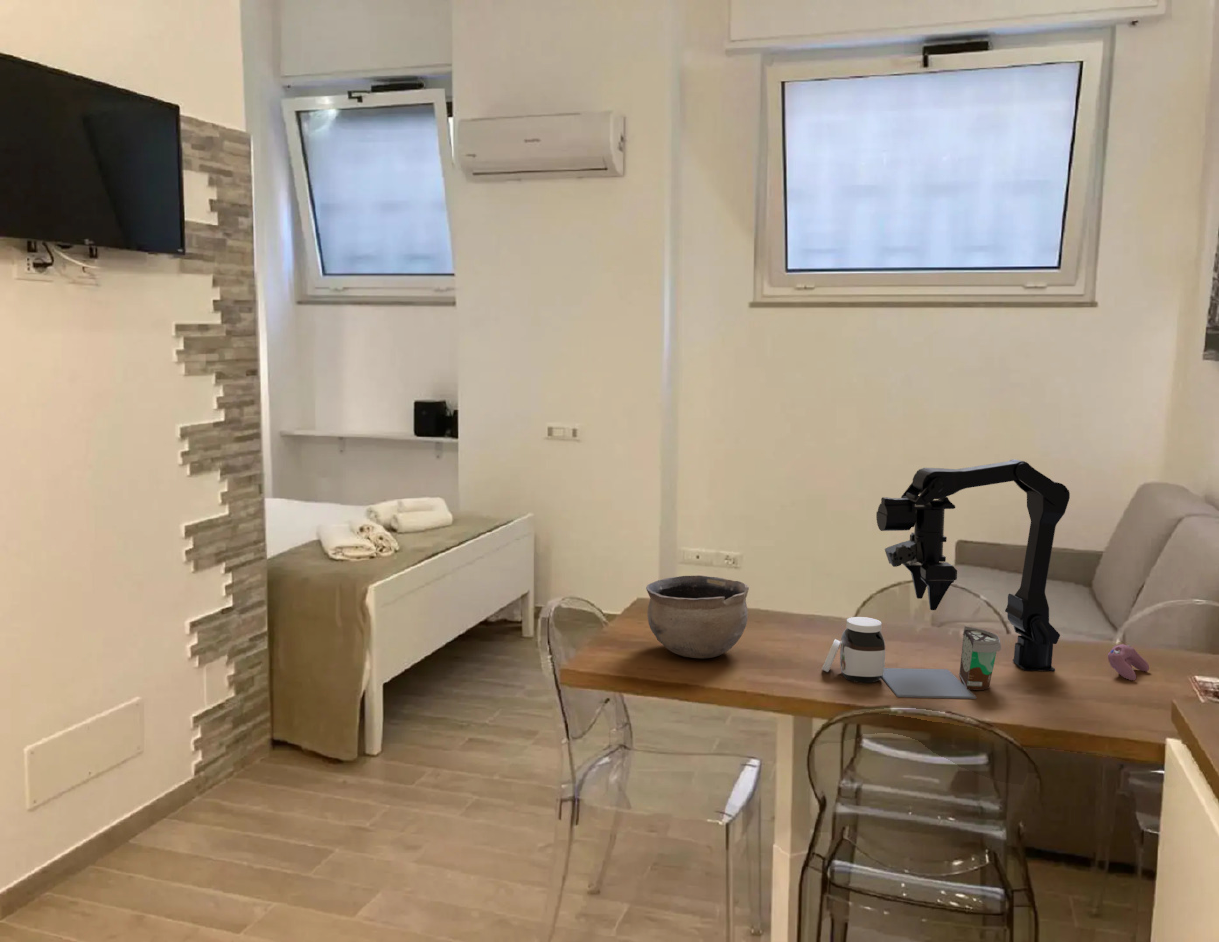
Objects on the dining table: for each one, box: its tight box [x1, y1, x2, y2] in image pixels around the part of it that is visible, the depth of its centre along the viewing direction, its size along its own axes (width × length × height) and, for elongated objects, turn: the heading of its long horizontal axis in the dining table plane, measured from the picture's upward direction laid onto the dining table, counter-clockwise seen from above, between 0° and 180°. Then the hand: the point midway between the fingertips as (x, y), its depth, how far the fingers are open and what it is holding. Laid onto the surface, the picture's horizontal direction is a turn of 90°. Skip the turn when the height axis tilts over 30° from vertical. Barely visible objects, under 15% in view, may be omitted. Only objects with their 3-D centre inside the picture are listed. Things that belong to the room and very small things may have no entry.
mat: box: [881, 667, 977, 700], centre depth 194 cm, size 15×16×1 cm
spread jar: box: [821, 616, 886, 684], centre depth 197 cm, size 12×11×12 cm
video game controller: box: [1107, 643, 1150, 681], centre depth 202 cm, size 10×5×7 cm, turn 135°
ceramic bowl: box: [645, 575, 750, 659], centre depth 210 cm, size 22×22×15 cm
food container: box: [958, 625, 1002, 691], centre depth 193 cm, size 12×6×10 cm, turn 169°
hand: (926, 604), depth 202 cm, fingers open, 9 cm apart
